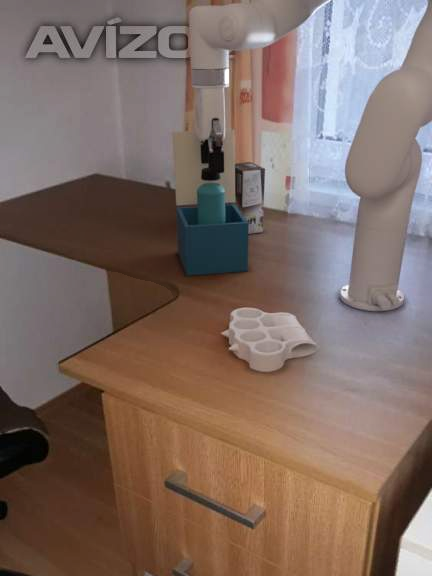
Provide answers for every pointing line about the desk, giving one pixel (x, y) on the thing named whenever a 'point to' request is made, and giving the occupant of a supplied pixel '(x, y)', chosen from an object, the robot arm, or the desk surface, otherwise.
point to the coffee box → (250, 194)
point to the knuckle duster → (267, 338)
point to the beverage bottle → (210, 200)
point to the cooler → (212, 242)
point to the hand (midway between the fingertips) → (212, 167)
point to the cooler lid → (200, 167)
